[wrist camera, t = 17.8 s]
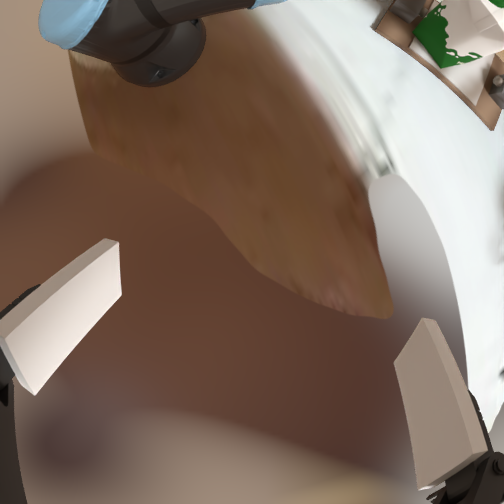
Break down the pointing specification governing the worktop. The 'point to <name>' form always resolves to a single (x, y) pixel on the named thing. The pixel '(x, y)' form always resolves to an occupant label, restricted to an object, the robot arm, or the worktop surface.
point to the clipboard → (455, 77)
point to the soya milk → (462, 31)
